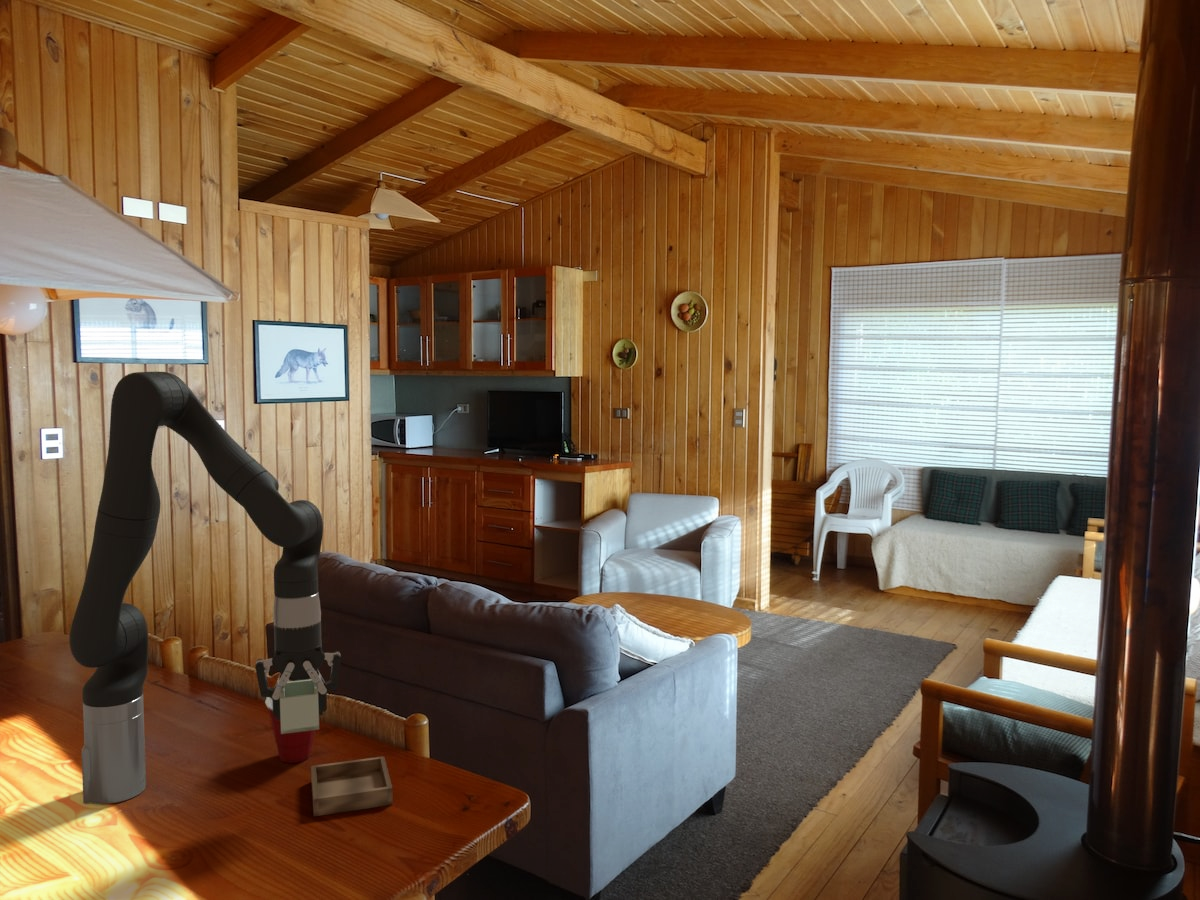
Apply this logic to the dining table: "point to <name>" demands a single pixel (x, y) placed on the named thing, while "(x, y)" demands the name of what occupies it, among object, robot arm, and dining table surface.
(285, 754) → the plastic cup
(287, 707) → the box
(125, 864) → the dining table surface
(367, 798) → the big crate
